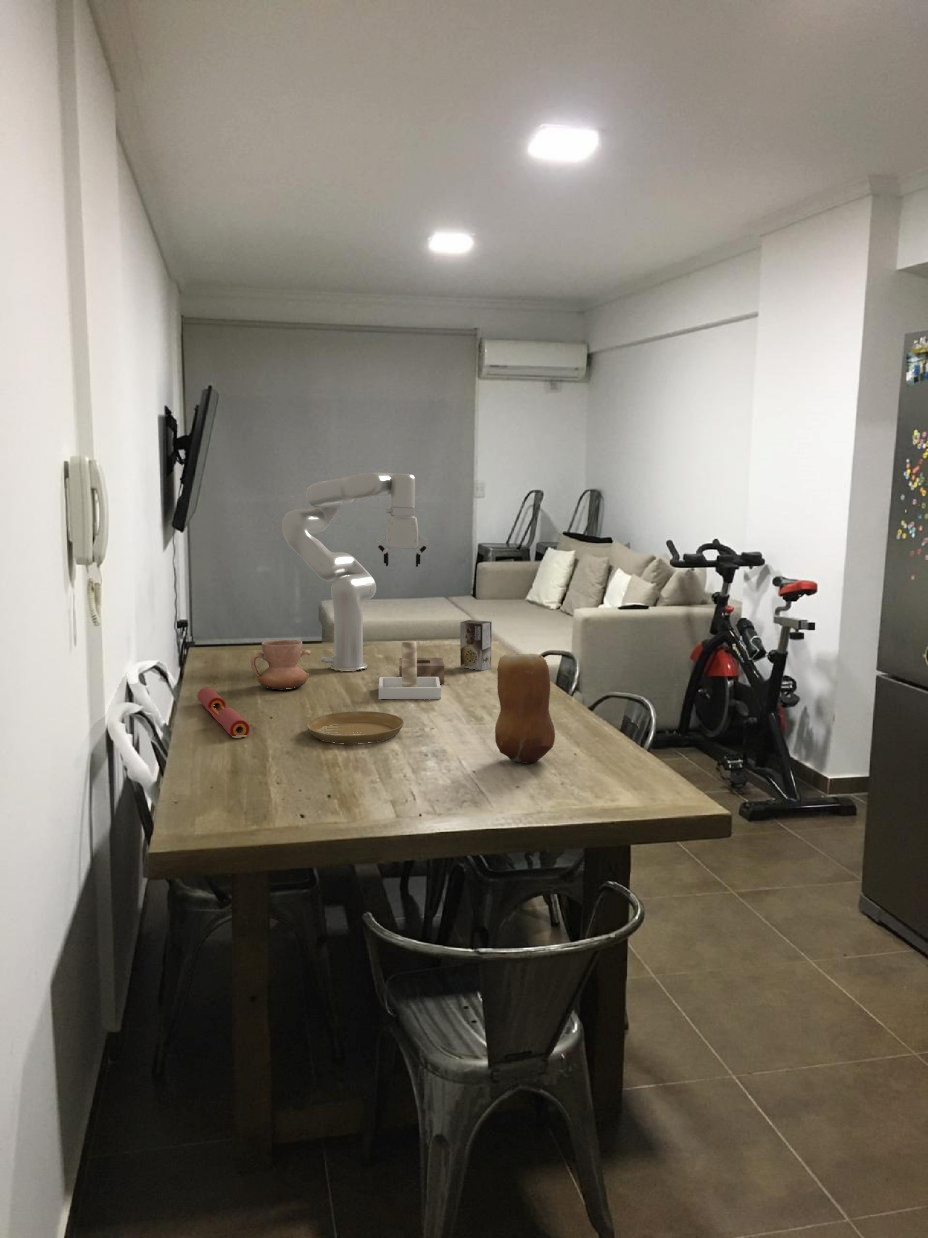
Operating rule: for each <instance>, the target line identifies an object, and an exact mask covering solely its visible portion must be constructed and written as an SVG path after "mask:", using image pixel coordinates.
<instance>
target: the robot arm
mask: <svg viewBox="0 0 928 1238" xmlns="http://www.w3.org/2000/svg"><path fill="white" fill-rule="evenodd" d="M305 497H306V498H305V499H306V500H307V502H308V504H309V505H310V506H312V507H313V508H296V509H293V510H291V511H290V510H289V511H288V512H287V513H285V515H284V516H283V518H282V522H281V523H282V525H281V528H282V529H281V530H282V535H283V537H284V540H285V542H286V543H287V545H288V546H289V547H290V548H291V550H293V551H294V553H296V554H297V555H298V556H299V557H300V558H301V559H302V561H304V563H305V564H306V566H308V567H309V568H310V569H311V570H312V571H313V572H314V573H315V574H316V576H317V577H318V578H319V579H321V580H322V581H324V582H332V584H331V588H330V596H331V601H332V605H333V606H332V607H333V632H334V633H333V637H334V640H333V642H334V648H333V649H334V654H333V655H331V656H321V657H320V659H321V660H320V661H321V662H320V663H324V664H329V668H330V667H331V668H336V669H342V670H355V669H362V668H367V666H368V663H365V662H364V648H363V647H364V641H363V639H364V637H363V636H364V635H363V634H364V633H363V632H364V629H363V628H364V627H363V624H364V623H363V620H364V618H363V612H362V608H361V605H360V602H365V601H370V599H372V598H373V597H375V596H376V592H377V583H376V581H375V579H374V577H373V576H372V575H371V574H370V573H369V571H368V570H367V569H365V567H364V566H363V565H362V564H361V563H360V562H359V561H358V560H357V559H356V558H355V557H354V556H353V555H351V554H350V553H348V552H343V551H338V552H333V551H331V550H329V549H328V548H327V547H326V546H325V545H324V544H323V542H321V541H320V540H319V539H317V538H316V537H314V536H313V535H312V534H318V533H322V532H324V531H326V529H328V527H329V525H330V524H332V523H331V522H332V521H333V519H334V518H335V516H336V514H338V512H339V510H340V509H341V507H342V506H343V505H346V504H352V503H353V502H354V500H356V499H363V498H369V497H390V506H391V507H390V508H386V514H389V515H390V516H388V519H387V524H386V534H384V535H382V536H380V537H378V538H376V539H375V544H376V546H377V547H378V549H379V550H380V551H381V552H382V553H383V564H385V567H388V566H389V556H390V555H389V551H390V549H405V550H409V549H411V550H412V549H414V550H415V552H416V554H415V567H417V568H418V567H419V565H421V555H422V553H423V552H424V551H426V549H427V548H428V545H429V544H430V540H429V539H427V538H425V537H423V536H421V535H419V525H418V518H417V517H416V515H415V514H416V513H415V510H416V509H415V508H416V507H415V506H416V505H415V502H416V477H415V475H414V474H411V473H393V472H392V473H391V472H366V473H365V472H364V473H359V474H355V475H354V474H353V475H350V476H345V477H341V478H336V479H330V480H329V479H328V480H324V481H319V482H318V481H317V482H315V483H313V484H311V485H310V486H308V487H307V489H306V492H305ZM383 541H386V543H385V544H386V547H384V546H383V544H382V543H381V542H383ZM419 541H421V542H423V543H424V544H423V546H421V548H419ZM367 669H368V668H367Z"/></svg>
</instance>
